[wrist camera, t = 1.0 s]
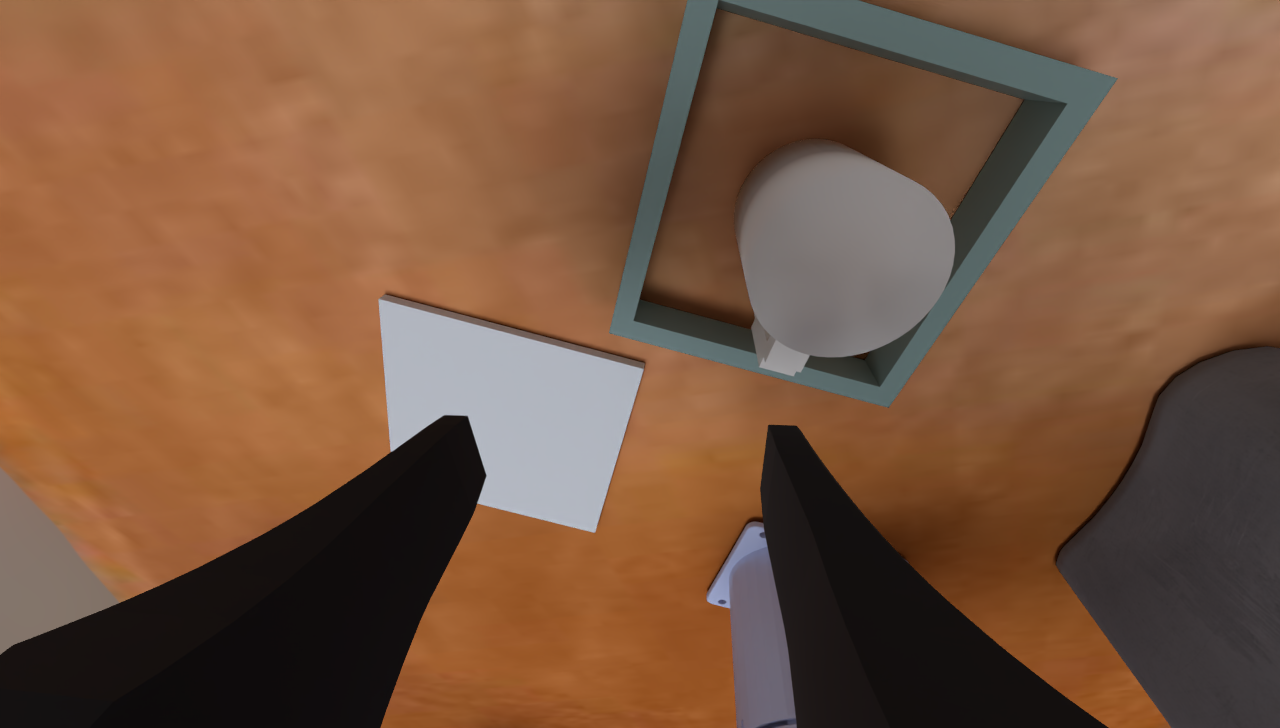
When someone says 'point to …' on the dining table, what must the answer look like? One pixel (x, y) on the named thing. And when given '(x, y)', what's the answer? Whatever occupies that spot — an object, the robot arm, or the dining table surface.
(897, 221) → the jug
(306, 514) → the robot arm
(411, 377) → the mat
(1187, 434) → the flask
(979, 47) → the holder
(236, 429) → the dining table surface
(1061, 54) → the dining table surface
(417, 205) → the dining table surface
